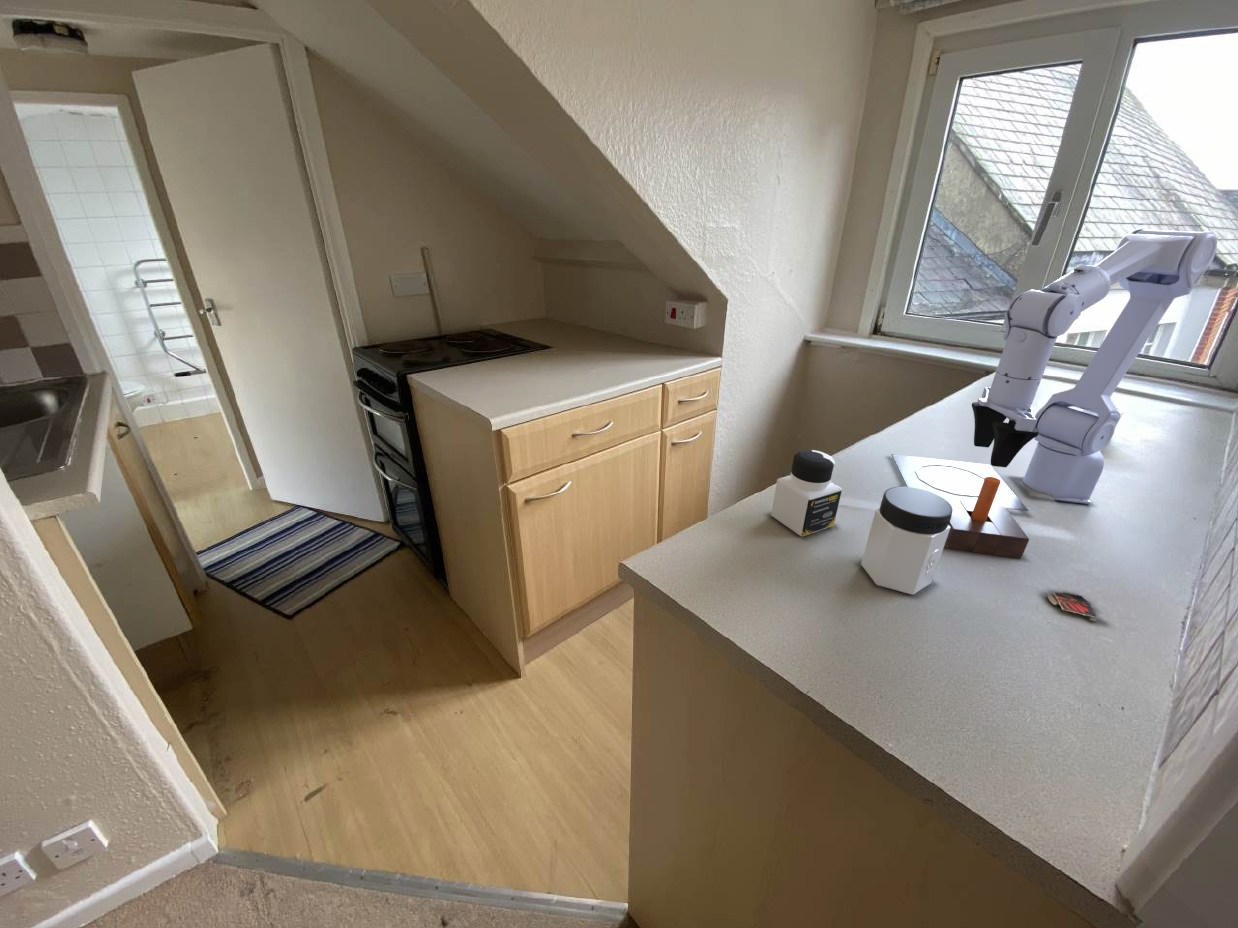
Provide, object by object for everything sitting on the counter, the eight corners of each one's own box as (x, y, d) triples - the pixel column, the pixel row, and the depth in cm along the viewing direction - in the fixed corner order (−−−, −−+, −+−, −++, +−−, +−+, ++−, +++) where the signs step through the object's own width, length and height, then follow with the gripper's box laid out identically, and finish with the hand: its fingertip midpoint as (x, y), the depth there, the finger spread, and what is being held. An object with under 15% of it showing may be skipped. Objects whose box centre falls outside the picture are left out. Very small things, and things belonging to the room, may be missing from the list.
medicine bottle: (801, 537, 82) (815, 469, 77) (770, 515, 88) (780, 450, 82) (834, 526, 85) (850, 459, 80) (801, 506, 91) (814, 442, 85)
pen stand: (995, 523, 87) (1003, 504, 85) (1021, 558, 78) (1029, 539, 76) (929, 514, 89) (935, 496, 87) (946, 548, 80) (953, 528, 79)
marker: (977, 532, 84) (997, 477, 80) (981, 539, 82) (1003, 483, 78) (963, 530, 84) (983, 475, 80) (967, 537, 83) (987, 481, 78)
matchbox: (1079, 595, 71) (1080, 592, 70) (1105, 622, 66) (1107, 619, 66) (1041, 591, 71) (1042, 589, 71) (1065, 618, 67) (1066, 615, 66)
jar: (904, 602, 69) (930, 525, 64) (850, 569, 75) (869, 496, 70) (941, 579, 73) (967, 505, 68) (886, 550, 79) (907, 479, 74)
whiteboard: (988, 469, 105) (990, 464, 104) (1026, 515, 89) (1029, 510, 88) (890, 458, 108) (891, 453, 108) (910, 501, 93) (912, 495, 92)
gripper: (972, 360, 87) (948, 435, 93) (1007, 386, 74) (977, 472, 80) (1021, 363, 85) (993, 440, 91) (1065, 391, 73) (1030, 478, 79)
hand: (989, 455), depth 86 cm, fingers open, 7 cm apart
